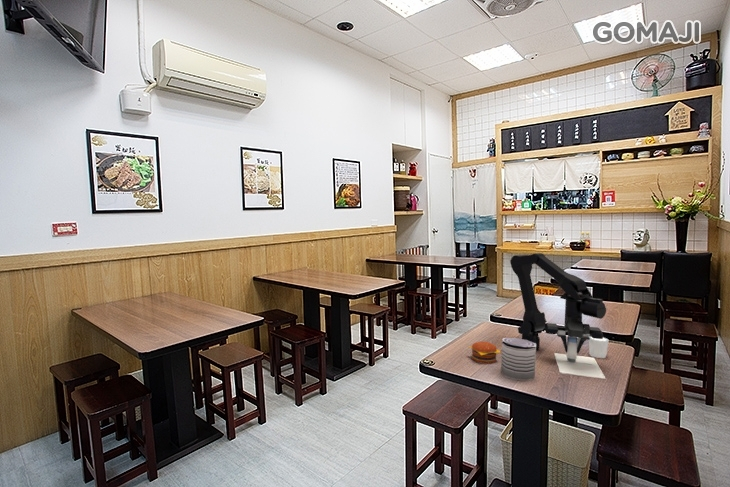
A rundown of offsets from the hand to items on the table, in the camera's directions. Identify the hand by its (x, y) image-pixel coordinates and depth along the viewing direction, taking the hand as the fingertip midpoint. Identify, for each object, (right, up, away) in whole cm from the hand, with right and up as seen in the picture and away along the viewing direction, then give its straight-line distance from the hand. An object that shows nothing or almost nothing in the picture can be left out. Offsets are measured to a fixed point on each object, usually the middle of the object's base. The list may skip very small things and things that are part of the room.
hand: (571, 352), depth 146 cm
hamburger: (-32, -4, +4) cm, 32 cm away
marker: (0, -3, 0) cm, 3 cm away
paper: (+1, -4, -2) cm, 5 cm away
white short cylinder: (+15, -4, +8) cm, 17 cm away
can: (-24, -5, -10) cm, 26 cm away
